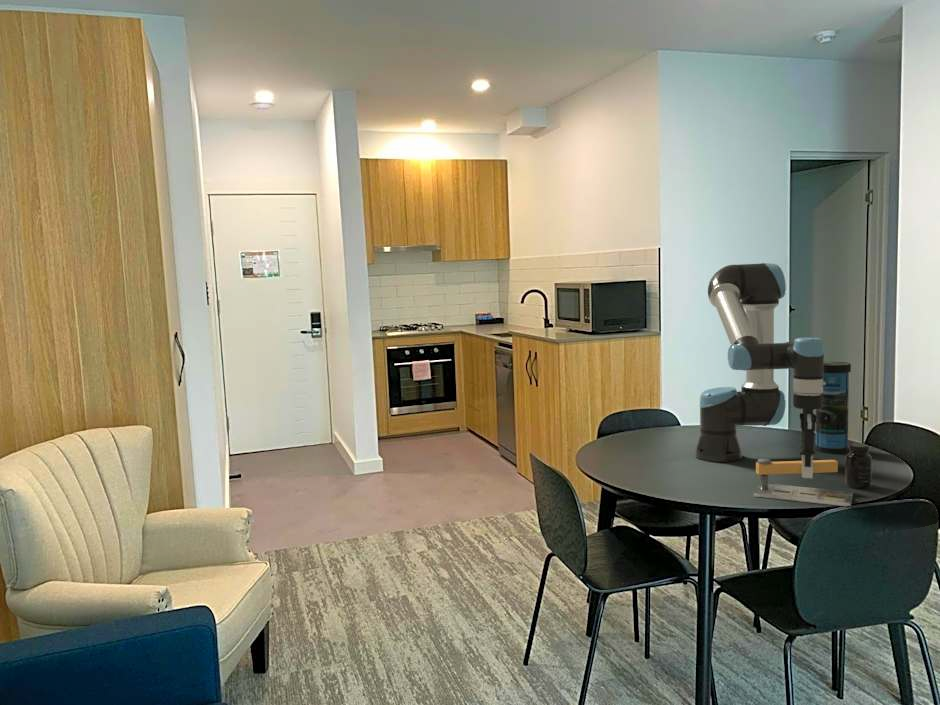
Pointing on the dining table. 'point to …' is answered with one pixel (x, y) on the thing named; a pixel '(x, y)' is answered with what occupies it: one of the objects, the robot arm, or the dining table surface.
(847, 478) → the supplement bottle
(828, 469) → the swing arm
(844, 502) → the tray
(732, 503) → the dining table surface
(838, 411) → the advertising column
